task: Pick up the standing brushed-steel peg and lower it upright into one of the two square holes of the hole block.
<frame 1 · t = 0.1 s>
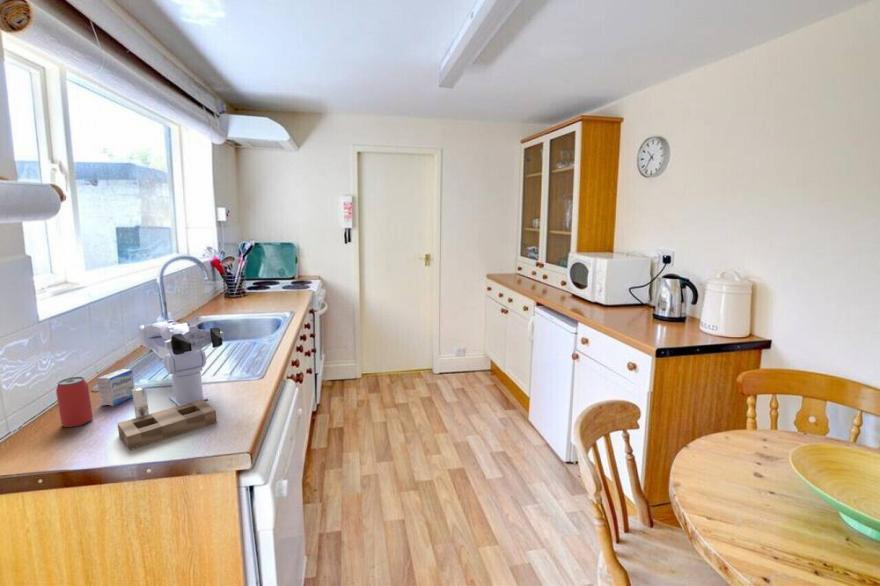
hand: (205, 344, 118), 22 cm above the worktop, tool horizontal, fingers open, 7 cm apart
medicine box: (118, 401, 135), on the worktop
steel peg: (143, 424, 120), on the worktop
hole block: (169, 428, 118), on the worktop
beer can: (77, 423, 121), on the worktop
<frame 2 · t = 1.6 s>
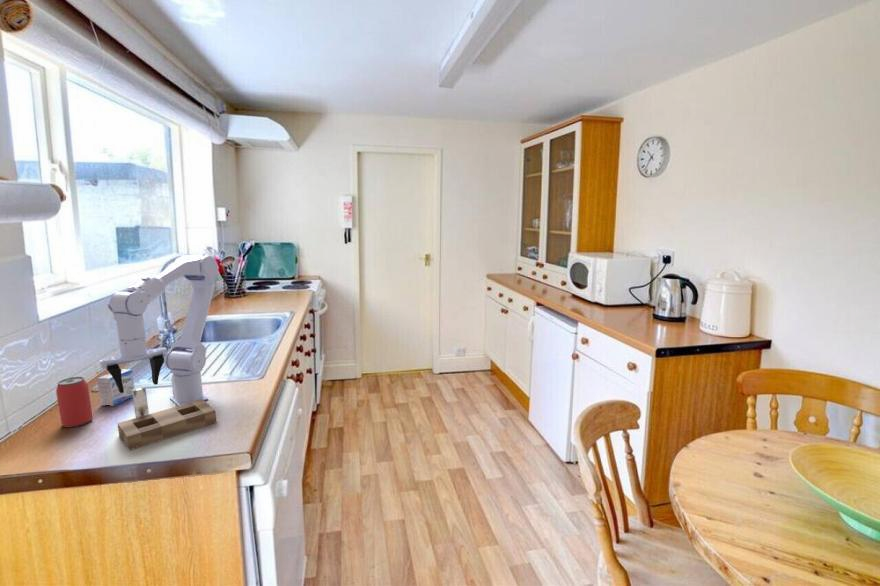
hand: (138, 387, 118), 10 cm above the worktop, tool pointing down, fingers open, 7 cm apart
nothing on the worktop moved.
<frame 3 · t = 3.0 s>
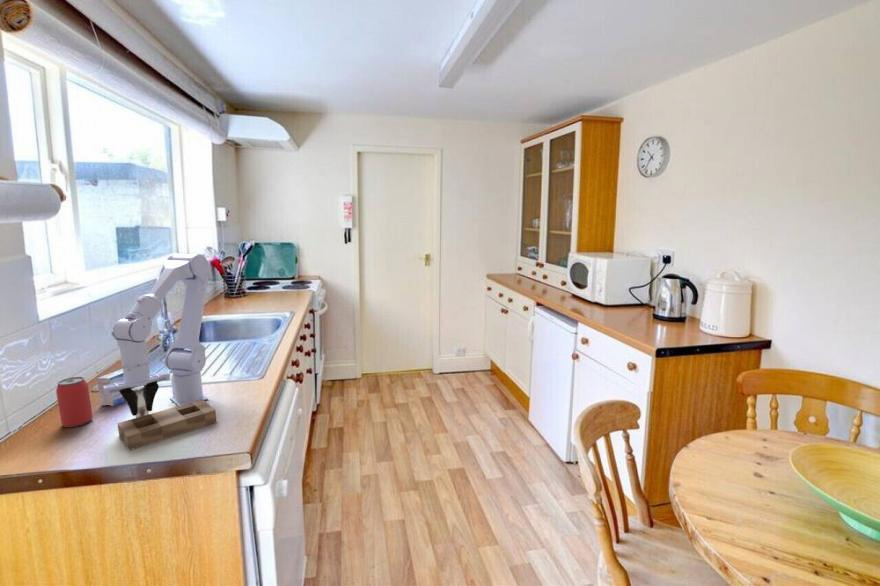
hand: (141, 412, 120), 3 cm above the worktop, tool pointing down, fingers closed on steel peg, 3 cm apart
steel peg: (143, 424, 120), on the worktop, touching gripper
everything else where it was.
when the fingers open (4 cm above the worktop, at t = 6.1 s): steel peg stays where it is, resting in hole block.
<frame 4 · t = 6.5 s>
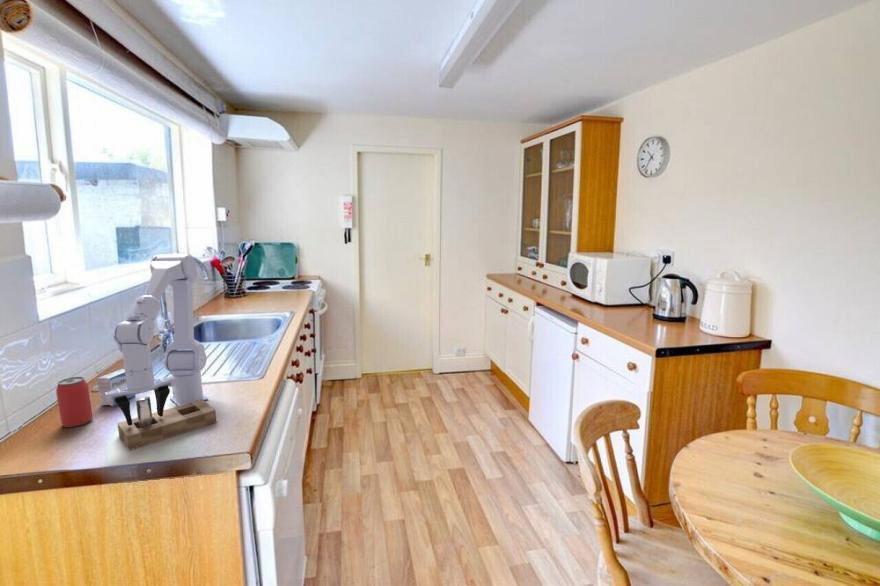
hand: (145, 419, 113), 4 cm above the worktop, tool pointing down, fingers open, 6 cm apart
steel peg: (147, 435, 114), resting in hole block
everything else where it was.
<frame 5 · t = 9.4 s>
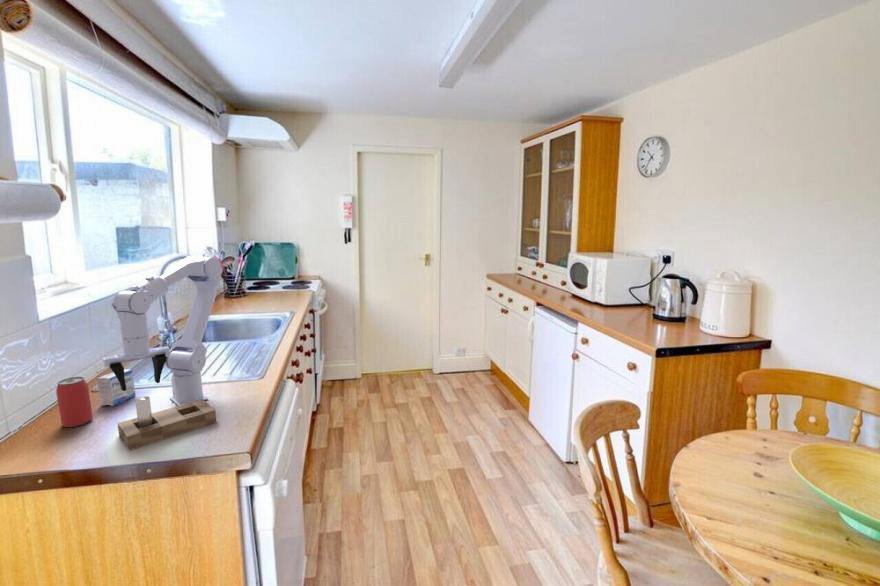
hand: (141, 385, 119), 10 cm above the worktop, tool pointing down, fingers open, 7 cm apart
nothing on the worktop moved.
at the end: steel peg 0.0 cm from the target spot on the hole block, point 0.0 cm above the hole block's base; steel peg tilted 0°; the gripper is holding nothing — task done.
